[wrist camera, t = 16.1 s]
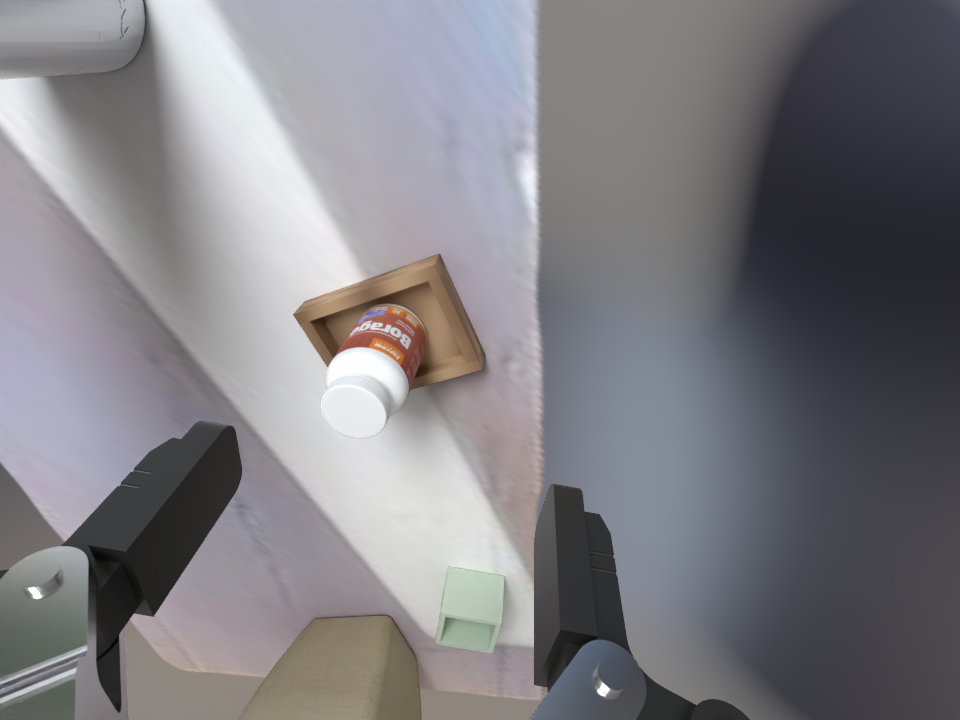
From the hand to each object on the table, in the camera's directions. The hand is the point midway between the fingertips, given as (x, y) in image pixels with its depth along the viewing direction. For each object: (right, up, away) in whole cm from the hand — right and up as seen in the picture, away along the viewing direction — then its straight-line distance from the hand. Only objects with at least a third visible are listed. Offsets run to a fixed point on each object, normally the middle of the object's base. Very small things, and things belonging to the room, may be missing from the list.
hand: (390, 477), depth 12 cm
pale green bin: (+1, -27, +51) cm, 58 cm away
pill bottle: (-5, +5, +30) cm, 31 cm away
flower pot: (-15, -39, +61) cm, 74 cm away
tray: (-5, +6, +31) cm, 31 cm away
